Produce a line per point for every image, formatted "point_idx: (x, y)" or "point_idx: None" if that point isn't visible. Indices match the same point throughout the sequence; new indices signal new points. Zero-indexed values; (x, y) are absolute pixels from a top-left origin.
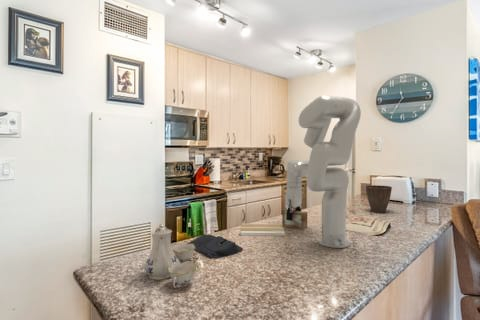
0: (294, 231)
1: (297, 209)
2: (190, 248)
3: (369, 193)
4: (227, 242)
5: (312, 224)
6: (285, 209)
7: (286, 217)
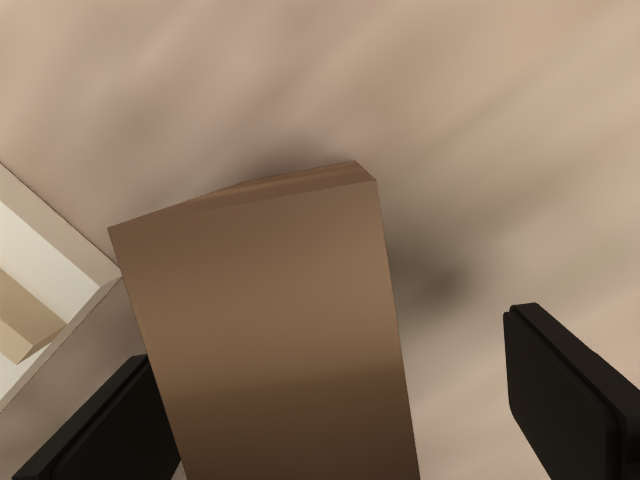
0: None
1: (596, 477)
2: None
3: None
4: None
5: None
6: (329, 194)
7: (113, 378)
